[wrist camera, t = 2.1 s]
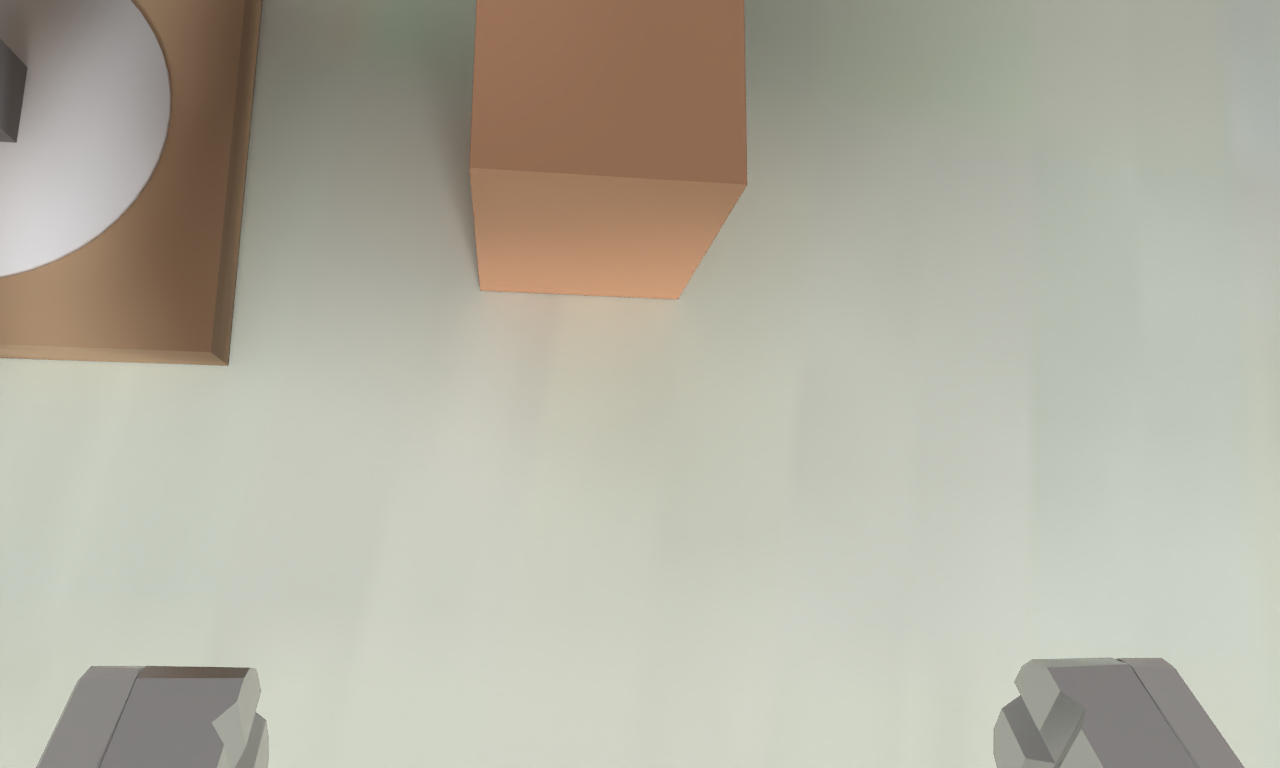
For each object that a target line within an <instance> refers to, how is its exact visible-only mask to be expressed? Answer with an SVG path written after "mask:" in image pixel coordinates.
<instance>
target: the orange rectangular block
mask: <svg viewBox="0 0 1280 768" xmlns="http://www.w3.org/2000/svg"><path fill="white" fill-rule="evenodd" d="M469 169H470V180H471V191H472V203H473V214H474V225H475V237H476V248H477V259H478V271H479V282H480V290H481V291H503V292H526V293H548V294H571V295H593V296H616V297H638V298H661V299H678V298H679V296H680V295H681V293H682V291H683V290H684V288H685V286H686V285H687V283H688V282H689V280H690V278H691V277H692V275H693V273H694V272H695V270H696V268H697V267H698V265H699V263H700V262H701V260H702V258H703V257H704V255H705V254H706V252H707V250H708V249H709V247H710V245H711V244H712V242H713V240H714V239H715V237H716V235H717V234H718V232H719V230H720V229H721V227H722V225H723V224H724V222H725V221H726V219H727V217H728V216H729V214H730V212H731V211H732V209H733V207H734V206H735V204H736V202H737V201H738V199H739V197H740V196H741V194H742V193H743V191H744V189H745V188H746V186H747V143H746V84H745V26H744V0H477V7H476V30H475V53H474V75H473V98H472V121H471V144H470V166H469Z"/></svg>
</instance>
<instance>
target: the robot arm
mask: <svg viewBox="0 0 1280 768" xmlns="http://www.w3.org/2000/svg"><path fill="white" fill-rule="evenodd" d="M1014 683H1015V685H1016V687H1017V689H1018V691H1019V693H1020V696H1019V697H1017V698H1016V699H1015V700H1013V701H1012V702H1010V703H1009V704H1008V705H1006V706H1005V707H1003V708H1002V709H1001V712H1000V714H999V717H998V719H997V722H996V724H995V727H994V757H995V762H996V766H997V768H1244V766H1243V765H1242V763H1241V762H1240V761H1239V759H1238V758H1237V756H1236V755H1235V753H1234V752H1233V751H1232V749H1231V748H1230V746H1229V745H1228V743H1227V742H1226V741H1225V739H1224V738H1223V736H1222V735H1221V733H1220V732H1219V731H1218V729H1217V728H1216V726H1215V725H1214V723H1213V722H1212V720H1211V719H1210V718H1209V716H1208V715H1207V713H1206V712H1205V710H1204V709H1203V708H1202V706H1201V705H1200V703H1199V702H1198V700H1197V699H1196V698H1195V696H1194V695H1193V693H1192V692H1191V690H1190V689H1189V688H1188V686H1187V685H1186V683H1185V682H1184V680H1183V679H1182V678H1181V676H1180V675H1179V673H1178V672H1177V670H1176V669H1175V668H1174V667H1173V666H1172V665H1171V664H1169V663H1168V662H1166V661H1165V660H1164V659H1162V658H1119V659H1113V658H1074V659H1032V660H1030V661H1029V662H1028V663H1026V664H1025V665H1023V666H1022V667H1021V669H1020V671H1019V673H1018V675H1017V677H1016V679H1015V681H1014ZM260 693H261V688H260V683H259V679H258V674H257V669H255V668H232V667H172V666H91V667H90V668H89V669H88V670H87V671H86V672H85V674H84V675H83V676H82V677H81V678H80V679H79V680H78V681H77V683H76V685H75V687H74V689H73V691H72V694H71V696H70V698H69V700H68V702H67V704H66V706H65V708H64V710H63V712H62V715H61V717H60V719H59V721H58V723H57V725H56V727H55V729H54V731H53V733H52V735H51V738H50V740H49V742H48V744H47V746H46V748H45V750H44V752H43V754H42V756H41V759H40V761H39V763H38V765H37V767H36V768H268V761H269V736H268V729H267V723H266V720H265V719H264V718H263V717H261V716H260V715H259V714H258V713H256V708H257V704H258V701H259V697H260Z"/></svg>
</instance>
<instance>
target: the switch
mask: <svg viewBox="0 0 1280 768" xmlns="http://www.w3.org/2000/svg"><path fill="white" fill-rule="evenodd" d="M261 6H262V0H0V358H19V359H49V360H78V361H108V362H138V363H168V364H198V365H228V361H229V350H230V339H231V329H232V318H233V307H234V296H235V285H236V275H237V264H238V253H239V242H240V232H241V221H242V210H243V199H244V189H245V178H246V167H247V156H248V145H249V135H250V124H251V113H252V102H253V92H254V81H255V70H256V59H257V49H258V38H259V27H260V16H261Z"/></svg>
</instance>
